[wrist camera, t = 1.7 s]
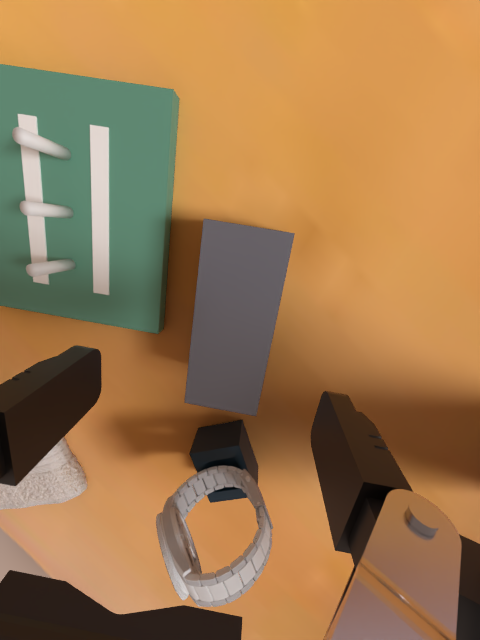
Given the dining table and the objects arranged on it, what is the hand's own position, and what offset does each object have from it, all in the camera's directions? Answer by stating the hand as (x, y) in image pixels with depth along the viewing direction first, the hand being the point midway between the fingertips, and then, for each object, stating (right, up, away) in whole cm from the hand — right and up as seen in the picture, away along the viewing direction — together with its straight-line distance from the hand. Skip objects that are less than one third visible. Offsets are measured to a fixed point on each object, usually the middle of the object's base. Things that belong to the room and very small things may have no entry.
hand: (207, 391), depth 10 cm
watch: (0, -10, +16) cm, 19 cm away
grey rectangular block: (+1, +4, +12) cm, 12 cm away
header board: (-11, +11, +11) cm, 18 cm away
